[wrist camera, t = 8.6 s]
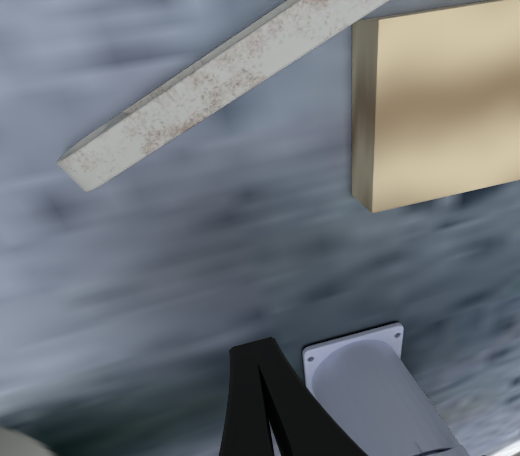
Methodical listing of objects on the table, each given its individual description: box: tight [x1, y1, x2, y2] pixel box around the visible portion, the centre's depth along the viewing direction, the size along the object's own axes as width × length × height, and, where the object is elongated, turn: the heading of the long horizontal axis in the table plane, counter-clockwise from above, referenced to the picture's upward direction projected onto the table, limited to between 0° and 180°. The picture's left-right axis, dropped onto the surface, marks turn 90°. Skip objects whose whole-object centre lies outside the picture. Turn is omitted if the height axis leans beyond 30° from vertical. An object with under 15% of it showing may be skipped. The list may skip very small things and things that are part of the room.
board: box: [352, 0, 520, 213], centre depth 19 cm, size 9×10×2 cm
